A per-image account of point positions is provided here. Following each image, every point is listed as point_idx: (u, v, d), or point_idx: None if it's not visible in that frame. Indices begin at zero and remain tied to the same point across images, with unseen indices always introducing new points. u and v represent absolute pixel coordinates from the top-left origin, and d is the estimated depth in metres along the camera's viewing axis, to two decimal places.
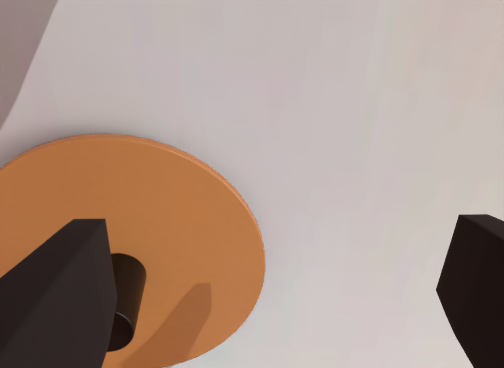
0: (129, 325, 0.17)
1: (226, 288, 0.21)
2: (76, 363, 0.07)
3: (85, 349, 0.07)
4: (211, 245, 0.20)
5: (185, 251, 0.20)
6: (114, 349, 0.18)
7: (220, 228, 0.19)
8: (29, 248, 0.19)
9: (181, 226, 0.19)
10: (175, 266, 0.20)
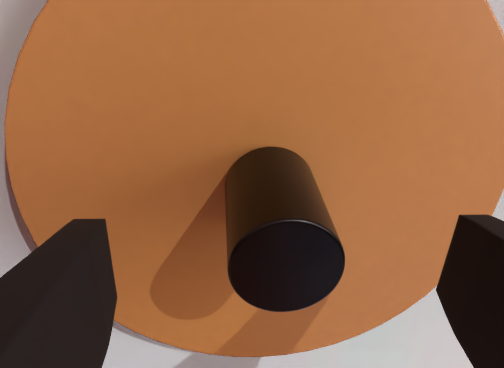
0: (340, 256, 0.09)
1: (434, 218, 0.13)
2: (76, 363, 0.07)
3: (85, 349, 0.07)
4: (432, 135, 0.11)
5: (385, 146, 0.11)
6: (299, 307, 0.09)
7: (455, 101, 0.11)
8: (121, 133, 0.11)
9: (390, 95, 0.11)
10: (362, 174, 0.12)
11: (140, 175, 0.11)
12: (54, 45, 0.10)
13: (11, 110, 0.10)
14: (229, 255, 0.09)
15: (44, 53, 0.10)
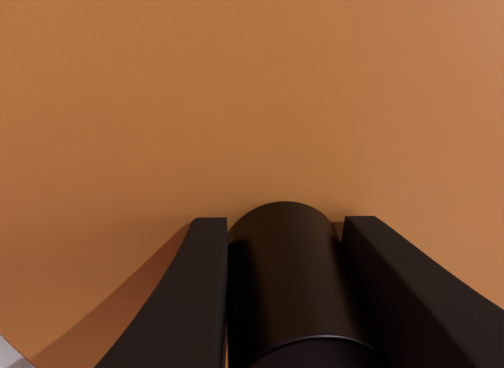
0: None
1: (485, 282, 0.10)
2: (222, 358, 0.07)
3: (223, 345, 0.07)
4: (490, 185, 0.09)
5: (430, 199, 0.09)
6: None
7: None
8: (90, 187, 0.08)
9: (440, 137, 0.08)
10: (399, 233, 0.09)
11: (116, 237, 0.09)
12: None
13: None
14: None
15: None
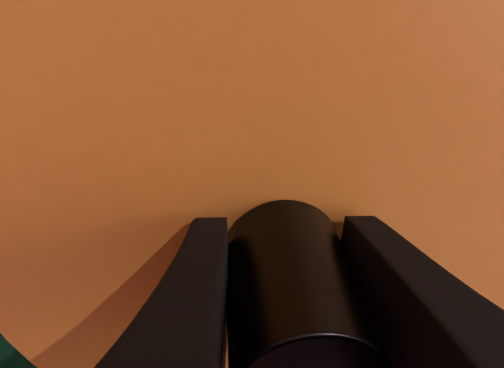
0: None
1: (486, 281, 0.10)
2: (222, 358, 0.07)
3: (224, 345, 0.07)
4: (491, 184, 0.09)
5: (430, 198, 0.09)
6: None
7: None
8: (90, 185, 0.08)
9: (441, 135, 0.08)
10: (400, 232, 0.09)
11: (116, 236, 0.09)
12: None
13: None
14: None
15: None
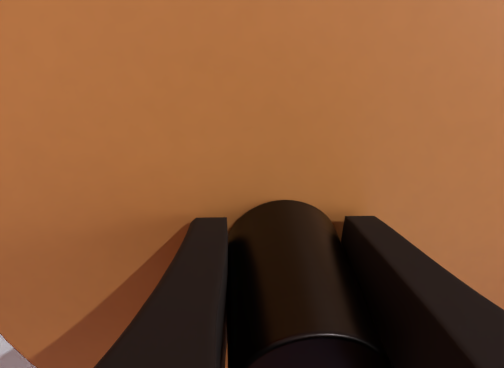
0: None
1: (486, 281, 0.10)
2: (222, 358, 0.07)
3: (223, 345, 0.07)
4: (491, 184, 0.09)
5: (430, 198, 0.09)
6: None
7: None
8: (90, 185, 0.08)
9: (441, 135, 0.08)
10: (400, 232, 0.09)
11: (115, 236, 0.09)
12: None
13: None
14: None
15: None
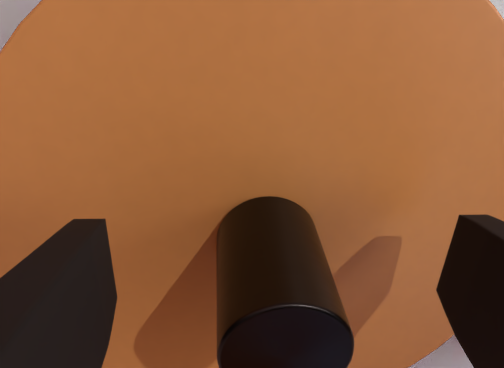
0: (348, 342, 0.07)
1: None
2: (76, 363, 0.07)
3: (85, 349, 0.07)
4: (449, 184, 0.10)
5: (396, 195, 0.10)
6: None
7: (477, 147, 0.10)
8: (99, 183, 0.10)
9: (404, 141, 0.10)
10: (370, 225, 0.11)
11: (120, 227, 0.10)
12: (19, 87, 0.08)
13: None
14: (219, 341, 0.07)
15: (7, 97, 0.08)
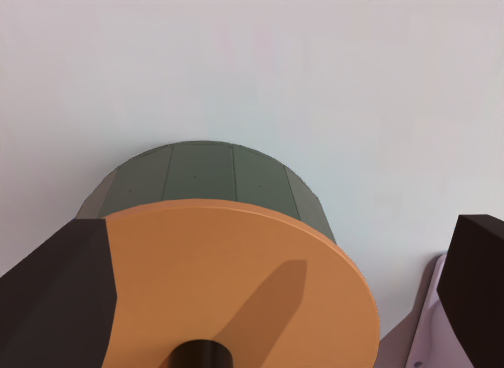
0: None
1: None
2: (76, 363, 0.07)
3: (85, 349, 0.07)
4: (317, 329, 0.16)
5: (283, 336, 0.16)
6: None
7: (330, 309, 0.15)
8: None
9: (283, 308, 0.15)
10: (269, 352, 0.16)
11: (105, 358, 0.16)
12: None
13: None
14: None
15: None
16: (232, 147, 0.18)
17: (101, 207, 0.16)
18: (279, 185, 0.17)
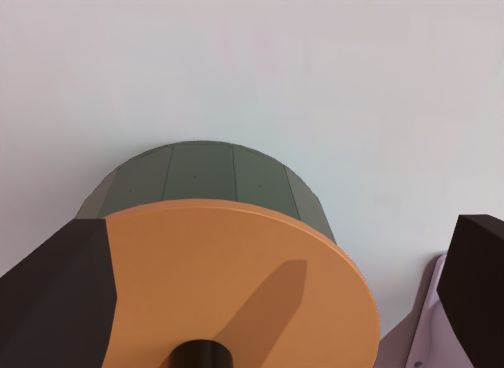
0: None
1: None
2: (76, 363, 0.07)
3: (85, 349, 0.07)
4: (317, 329, 0.16)
5: (283, 336, 0.16)
6: None
7: (330, 309, 0.15)
8: None
9: (283, 308, 0.15)
10: (269, 352, 0.16)
11: (105, 358, 0.16)
12: None
13: None
14: None
15: None
16: (232, 147, 0.18)
17: (101, 207, 0.16)
18: (279, 185, 0.17)
